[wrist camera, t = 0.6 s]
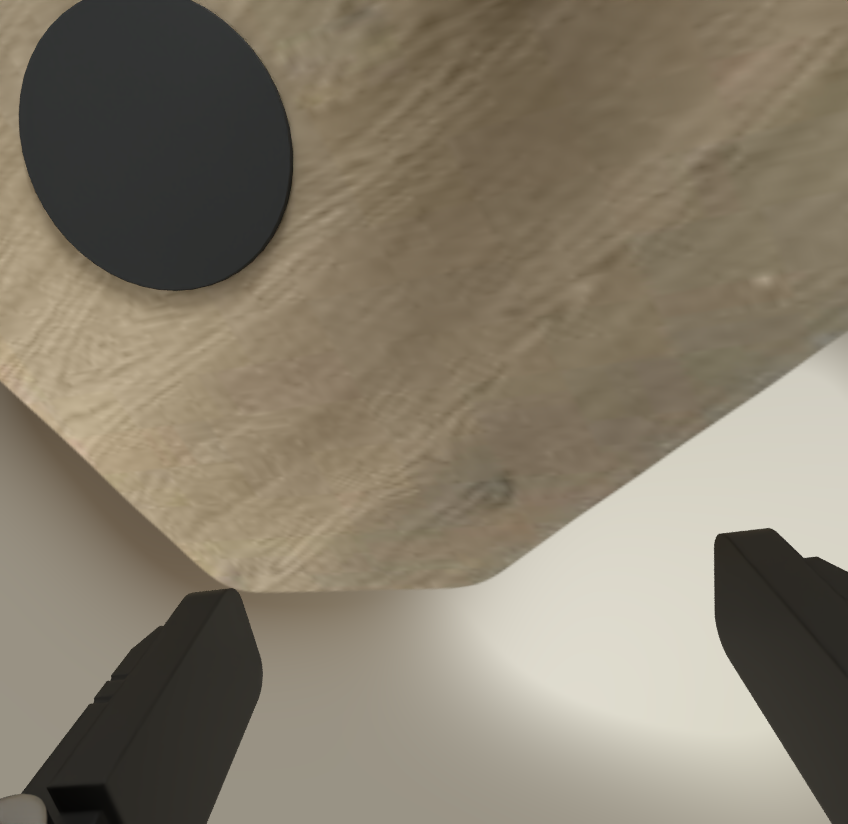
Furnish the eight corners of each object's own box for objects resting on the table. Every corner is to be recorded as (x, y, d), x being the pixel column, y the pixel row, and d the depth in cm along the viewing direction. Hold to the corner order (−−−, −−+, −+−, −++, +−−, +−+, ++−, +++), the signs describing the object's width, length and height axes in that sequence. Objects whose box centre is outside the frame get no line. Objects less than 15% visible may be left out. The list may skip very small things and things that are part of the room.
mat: (-5, -4, 31) (-13, -8, 30) (279, -15, 30) (276, -20, 29) (58, 290, 36) (52, 291, 35) (303, 288, 35) (301, 289, 34)
